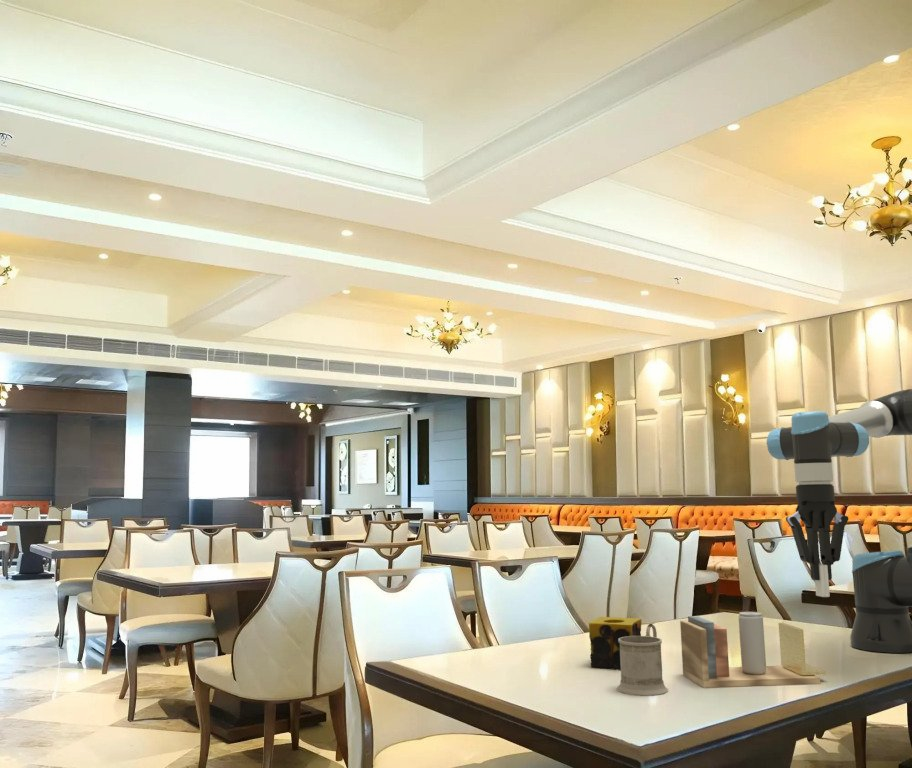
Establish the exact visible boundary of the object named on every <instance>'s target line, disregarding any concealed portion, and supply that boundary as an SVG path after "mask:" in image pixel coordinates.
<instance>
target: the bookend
mask: <svg viewBox="0 0 912 768" xmlns="http://www.w3.org/2000/svg"><path fill="white" fill-rule="evenodd" d="M778 634H779V635H778V636H779V637H778V638H779V649H780V650H779V651H780V662H781V663H780V666H782V667H784V668H787V669H789V670H791V671H793V672H795V673H798V674H800V675H815V676H819V675H820V676H823V675H826V670H822V669H820V668H818V667H816V666H813V665H811V664H809V663H807V662H806V649H805V639H804V638H805V637H804V635H805V634H804V628H800V627H797V626H796V625H795V626H794V625H791V624H788V623H785V622H778Z"/></svg>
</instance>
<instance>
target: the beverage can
mask: <svg viewBox="0 0 912 768" xmlns="http://www.w3.org/2000/svg"><path fill="white" fill-rule="evenodd" d="M738 614H739V615H738V629H739V644H740V645H739V646H740V647H739V648H740V658H741V667H742V670H743V671H744V673H747V674H752V675H761V674H764V673H765V672H766V666H767V661H766V660H767V659H766V657H767V656H766V647H765V646H766V645H765V643H766V641H765V629H764V617H763V613H762V612H759V611H758V612H757V611H741V612H738Z"/></svg>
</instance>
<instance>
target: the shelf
mask: <svg viewBox="0 0 912 768" xmlns="http://www.w3.org/2000/svg"><path fill="white" fill-rule="evenodd" d="M679 621H680V622H679V623H680V642H681V659H682V660H681V661H682V676H685V678H687V679H689V680H690V681H692V682H694V683H695V684H697V685H698V686H700V687H702V688H704V689H705V688H706V689H707V688H709V689H710V688H732V687H733V688H734V687H736V688H737V687H738V688H739V687H761V686H763V687H764V686H765V687H766V686H789V685H795V686H796V685H817V684H818V685H819V684H821V678H820V676H819V675H800V674H798V673H795V672H793V671H791V670H789V669H787V668H784V667H782V666H781V665H766V672H765V673H764V674H761V675H752V674H747V673H744V671H743V670H742V666H732V667H731V666H729V665H730V664H729V663H730V661H729V646H728V631H727V628H726V627H723V626H721V625H718V624H716V623H714V622H713V621H711V620H708V619H706V618H704V617H701V616H698V615H695V616H694V615H690V616H687V620H679Z"/></svg>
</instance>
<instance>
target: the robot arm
mask: <svg viewBox="0 0 912 768" xmlns="http://www.w3.org/2000/svg"><path fill="white" fill-rule="evenodd" d="M828 415H829V414H828V413H827V412H826V411H822V410H817V411H815V410H812V411H811V410H810V411H800V412H796V413H793V414H792V416H791V426H790V427H789V426H788V427H784V426H783V427H780V428H774V429H772V430H770V432H768V434H767V437H766V445H767V446H766V447H767V452H768V453H769V454H770V456H771V457H773V458H774V459H776V460H786V461H789V460H793V465H794V479H795V482H796V483H798V484H797V485H796V486H795V493H796V494H795V495H796V496H795V497H796V502H797V506H796V508H795V512H794V513H793V514H792V515H790V516H786V517H785V520H786V522H787V524H788V525H789V526H790V529H791V532H792V535H793V538H794V542H795V546H796V548H797V552H798V555H799V559H800V561H802V562H805V563H808V564H809V569H810V570H809V571H810V578H811V580H812V581H814V584H815V596H817V597H820V598H821V597H822V598H829V597H830V583H829V581H832V579H833V573H832V565H834V564H835V562H839V561H840V560H841V554H842V547H843V541H844V540H843V539H844V533H845V527H846V525H847V523H848V521H849V517H848V516H847V515H843V514H842V513H840V512H838V508H837V507H836V505H835V500H836V498H835V486H834V485H833V484H832V483H831V482H834V473H833V472H834V471H833V463H832V458H835V457H836V458H837V457H846V458H852V457H858V456H861V455H863V454H864V453H865V452H866V451H867V450H868V448H869V445H870V438H874V439H875V438H876V439H880V438H884V437H888V436H891V437H892V436H912V389H910V388H909V389H902V390H899V391H895V392H892V393H889V394H887V395H883V396H881V397H877V398H874V399H872V400H869V401H868V400H867V401H866V402H864V403H863V404H861V405H860V406H859V407H858V408H855V409H851V410H847V411H844V412H840V413H836V414H834V415H833V414H832V415H829V416H828ZM801 522H802V523H803V524H804V526H805V527H804V529H805V531H806V536H805V533H804V530H803V528H802V524H801ZM832 522H834V523H833V526H832V532H831V523H832ZM830 532H831V533H830ZM830 535H831V536H830ZM851 561H852V569H851V573H852V581H853V593H854V603H855V618H854V622H853V624H852V629H851V633H850V646H851V647H853V648H854V649H859V650H863V651H868V652H877V653H889V654H891V653H892V654H895V653H896V654H898V653H899V654H903V653H905V654H906V653H907V654H908V653H912V620H911V618H910V612H909V611H910V609H909V607H910V608H912V543H911V544H910V545H908V546H907V550H906V556H905V554H904V551H903V550H901V549H898V550H889V551H887V550H885V551H875V552H866V553H865V552H864V553H858V554H855V555H854V556H853V557H852V560H851Z"/></svg>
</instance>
